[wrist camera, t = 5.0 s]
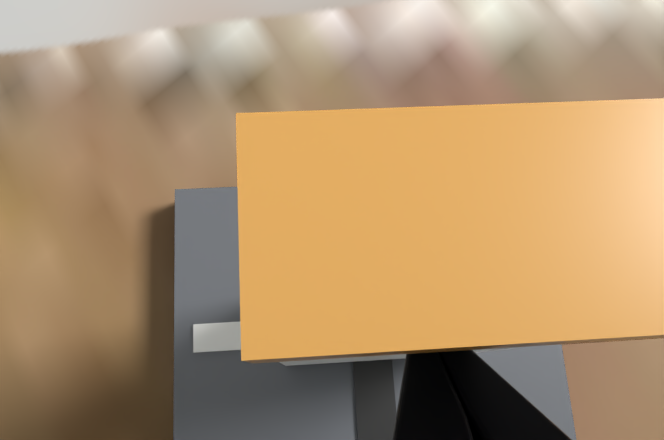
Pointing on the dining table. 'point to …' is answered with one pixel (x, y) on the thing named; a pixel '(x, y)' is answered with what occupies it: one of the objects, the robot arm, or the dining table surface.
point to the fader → (449, 229)
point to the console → (297, 380)
